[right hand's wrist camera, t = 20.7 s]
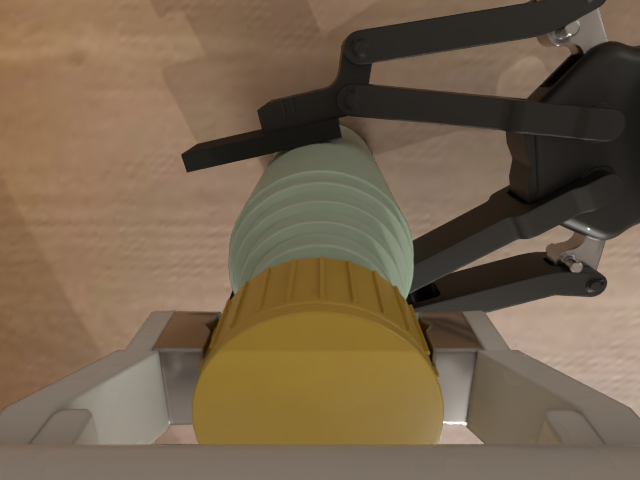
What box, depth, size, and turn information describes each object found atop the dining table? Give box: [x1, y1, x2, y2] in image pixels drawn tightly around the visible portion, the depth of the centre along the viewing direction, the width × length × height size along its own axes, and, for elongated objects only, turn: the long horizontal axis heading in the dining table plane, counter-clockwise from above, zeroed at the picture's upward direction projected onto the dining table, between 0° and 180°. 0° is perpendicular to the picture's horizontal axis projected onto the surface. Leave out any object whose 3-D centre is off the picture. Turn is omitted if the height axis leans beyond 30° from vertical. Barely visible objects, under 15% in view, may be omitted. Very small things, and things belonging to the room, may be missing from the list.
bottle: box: [228, 124, 414, 300], centre depth 17 cm, size 6×6×19 cm
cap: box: [192, 256, 444, 444], centre depth 9 cm, size 5×5×2 cm
